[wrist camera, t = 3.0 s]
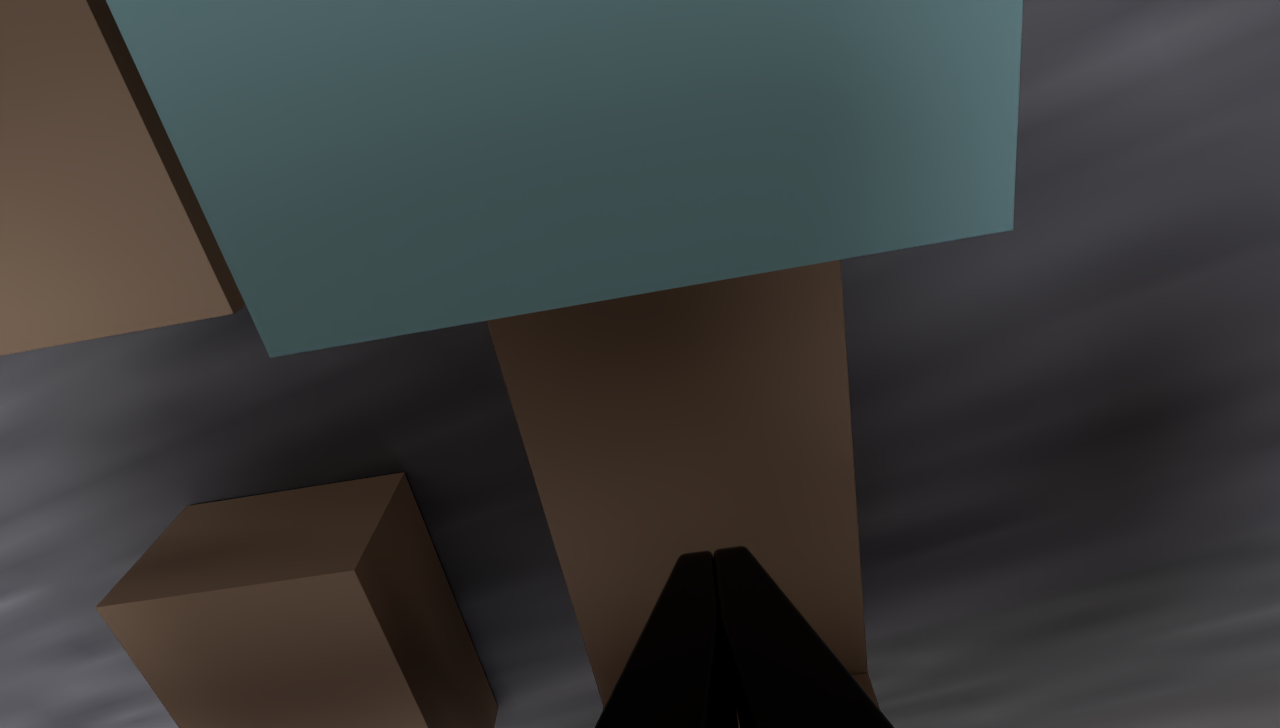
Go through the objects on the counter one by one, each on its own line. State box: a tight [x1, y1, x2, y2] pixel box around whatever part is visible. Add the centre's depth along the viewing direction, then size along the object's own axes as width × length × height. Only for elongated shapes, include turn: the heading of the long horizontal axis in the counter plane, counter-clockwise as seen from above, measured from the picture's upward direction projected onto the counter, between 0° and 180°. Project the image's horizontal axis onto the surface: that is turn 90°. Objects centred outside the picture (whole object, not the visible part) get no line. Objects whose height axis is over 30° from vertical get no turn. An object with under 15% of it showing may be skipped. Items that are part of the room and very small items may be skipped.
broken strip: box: [0, 0, 498, 728], centre depth 11 cm, size 16×4×2 cm, turn 10°
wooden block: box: [486, 260, 880, 728], centre depth 8 cm, size 16×4×6 cm, turn 10°
